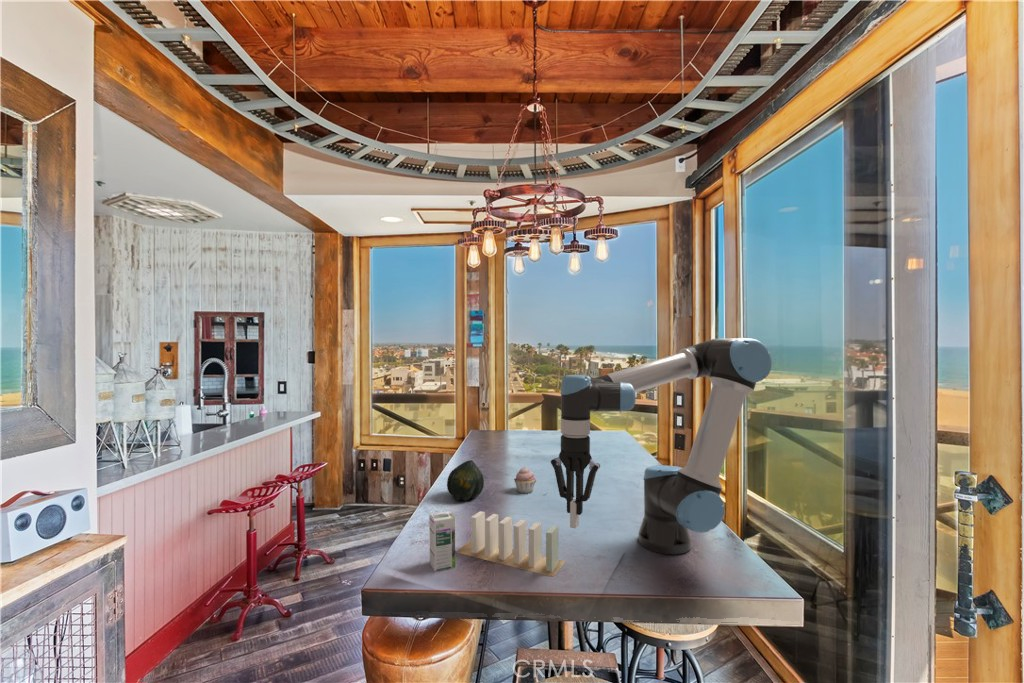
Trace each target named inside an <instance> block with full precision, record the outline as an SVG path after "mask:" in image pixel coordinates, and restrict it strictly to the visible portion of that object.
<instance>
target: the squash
mask: <svg viewBox="0 0 1024 683" xmlns="http://www.w3.org/2000/svg"><path fill="white" fill-rule="evenodd" d="M484 483H485V480H484V474H483V473H482V471H481V470H480V469H479V467H478V466H477V465H476V463H475V462H474V461H473V460H472V459H471V460H466V461H464V462H462V463H461V464H459V465H457V466H456V467H455V468H453V469H452V470H451V471H450V473H449V475H448V476H447V481H446V487H447V491H448V494H450V495H451V496H452V498H453V499H454V500H455V501H459V502H460V501H462V500H463V501H468V500H470V499H474V498H477V497H478V496H479V495H480V494H481V493H482V492H483V490H484V486H485V484H484Z"/></svg>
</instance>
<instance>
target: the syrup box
mask: <svg viewBox="0 0 1024 683" xmlns="http://www.w3.org/2000/svg"><path fill="white" fill-rule="evenodd" d="M428 517H429V519H428V521H429V522H428V523H429V524H428V525H429V563H430V566H431V567H432V569H433V571H434V572H440V571H444V570H445V571H446V570H450V569H454V568H456V519H455V518H456V517H455V515H454V514H453V513H452V512H451V511H450V510H447V511H442V512H441V511H440V512H436V513H430V514H429V516H428Z"/></svg>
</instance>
